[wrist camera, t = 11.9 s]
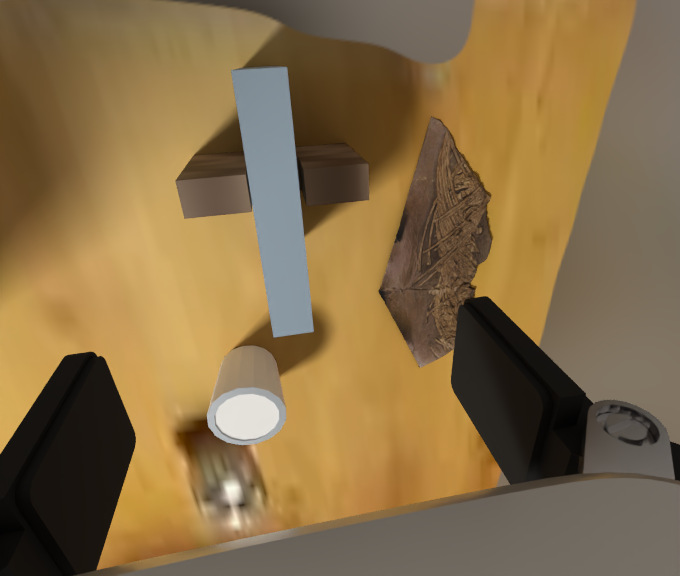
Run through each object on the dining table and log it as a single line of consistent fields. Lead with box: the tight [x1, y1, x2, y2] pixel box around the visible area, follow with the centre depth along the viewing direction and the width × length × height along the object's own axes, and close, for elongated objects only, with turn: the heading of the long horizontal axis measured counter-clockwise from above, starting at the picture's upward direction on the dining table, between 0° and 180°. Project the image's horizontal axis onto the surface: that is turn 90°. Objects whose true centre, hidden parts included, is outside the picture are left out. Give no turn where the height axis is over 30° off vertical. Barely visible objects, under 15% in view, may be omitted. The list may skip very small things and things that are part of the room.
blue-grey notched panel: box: [231, 66, 314, 337], centre depth 27 cm, size 14×2×14 cm, turn 3°
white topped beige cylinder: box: [207, 345, 286, 445], centre depth 39 cm, size 7×7×7 cm
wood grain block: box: [176, 143, 369, 219], centre depth 30 cm, size 12×2×8 cm, turn 93°
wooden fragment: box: [379, 116, 492, 367], centre depth 40 cm, size 26×11×1 cm, turn 1°
